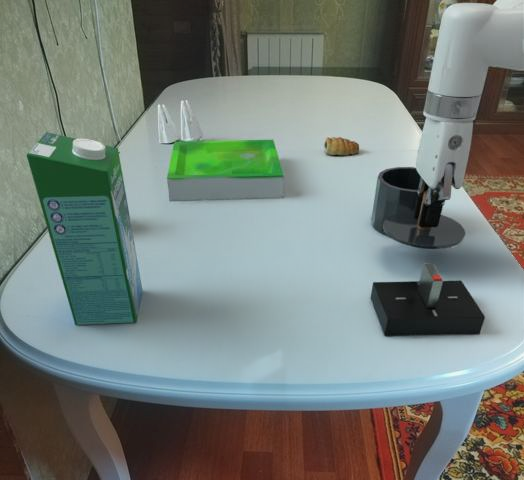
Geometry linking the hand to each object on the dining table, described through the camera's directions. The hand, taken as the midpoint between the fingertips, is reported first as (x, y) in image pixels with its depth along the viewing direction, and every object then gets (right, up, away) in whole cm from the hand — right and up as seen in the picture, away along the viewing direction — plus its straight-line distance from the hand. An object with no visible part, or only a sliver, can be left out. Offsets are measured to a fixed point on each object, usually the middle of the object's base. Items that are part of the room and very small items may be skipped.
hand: (425, 221), depth 86 cm
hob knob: (-3, -14, -11) cm, 18 cm away
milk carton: (-51, -15, -7) cm, 54 cm away
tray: (-36, +19, +36) cm, 54 cm away
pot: (+1, +3, +16) cm, 16 cm away
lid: (0, -1, +1) cm, 2 cm away
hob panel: (-3, -16, -9) cm, 19 cm away
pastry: (-7, +31, +50) cm, 60 cm away
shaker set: (-50, +37, +57) cm, 84 cm away
